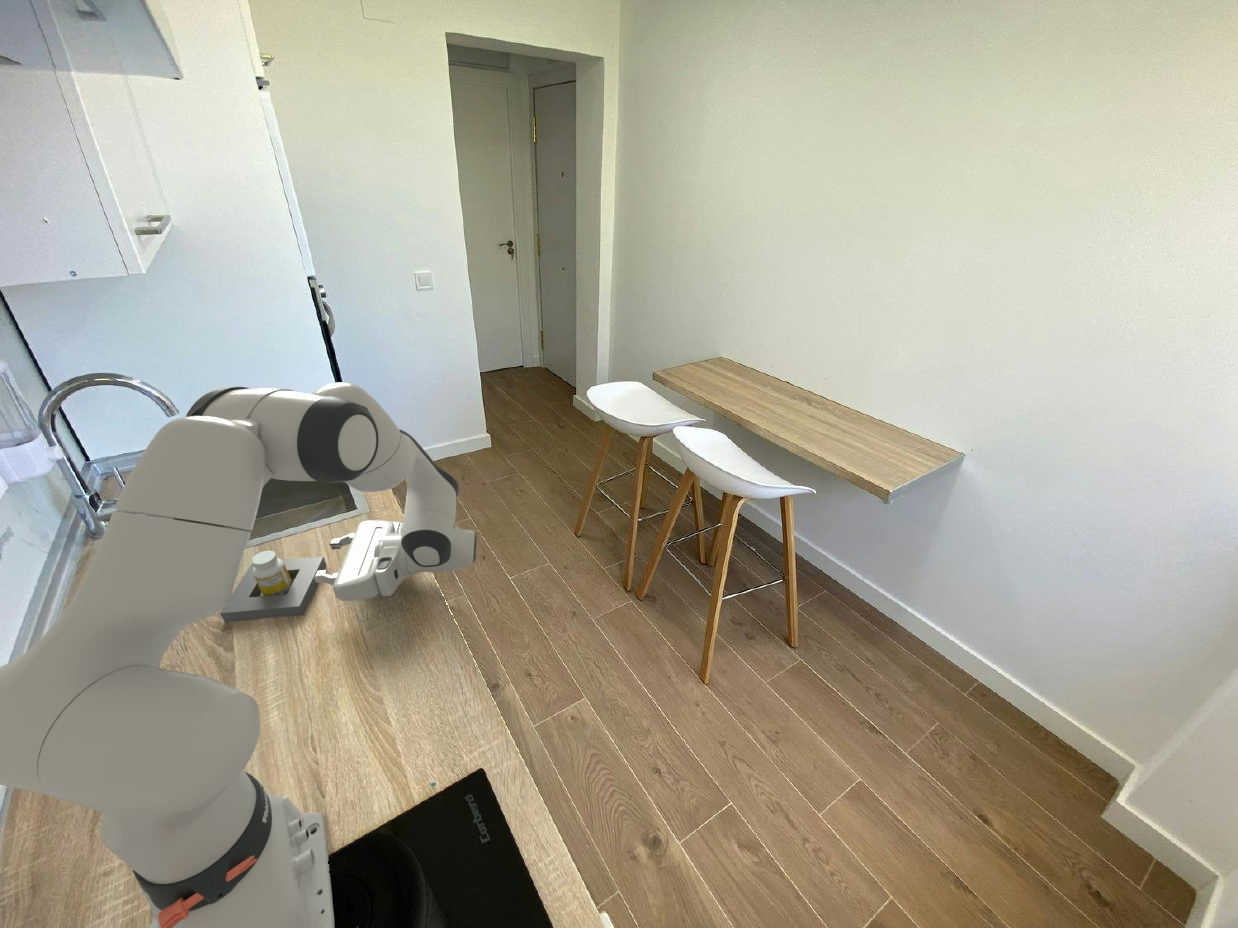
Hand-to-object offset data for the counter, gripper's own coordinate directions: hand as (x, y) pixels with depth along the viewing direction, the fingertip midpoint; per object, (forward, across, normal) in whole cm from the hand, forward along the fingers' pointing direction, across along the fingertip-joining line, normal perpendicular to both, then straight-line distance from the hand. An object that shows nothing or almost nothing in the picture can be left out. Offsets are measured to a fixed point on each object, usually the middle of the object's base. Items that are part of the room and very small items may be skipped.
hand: (323, 559), depth 101 cm
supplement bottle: (+10, 0, +8) cm, 13 cm away
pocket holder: (+11, 0, +8) cm, 13 cm away
